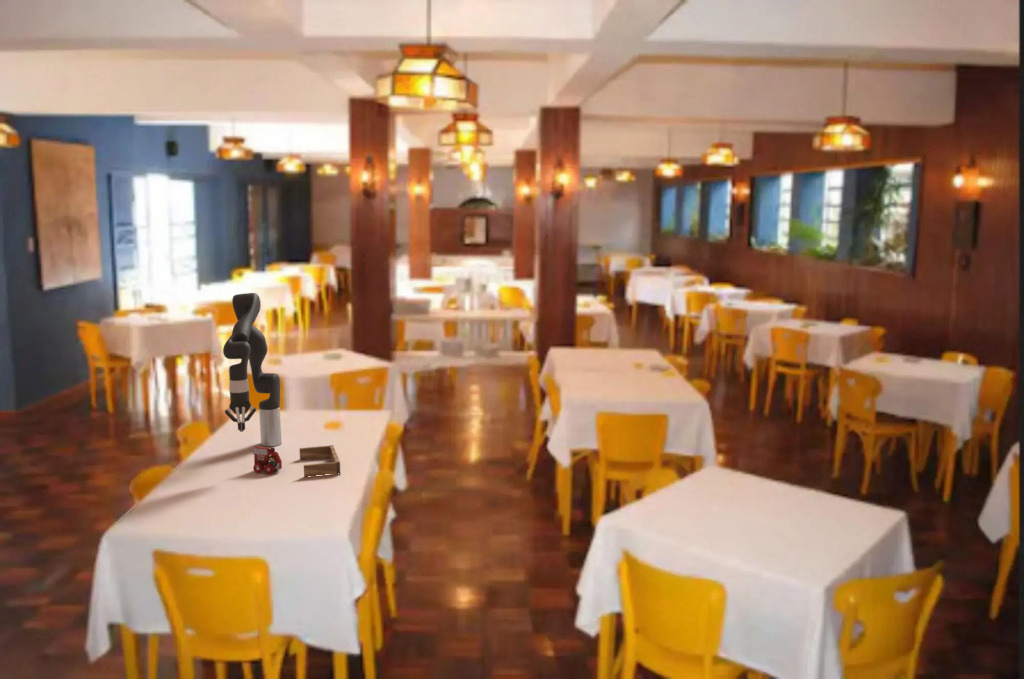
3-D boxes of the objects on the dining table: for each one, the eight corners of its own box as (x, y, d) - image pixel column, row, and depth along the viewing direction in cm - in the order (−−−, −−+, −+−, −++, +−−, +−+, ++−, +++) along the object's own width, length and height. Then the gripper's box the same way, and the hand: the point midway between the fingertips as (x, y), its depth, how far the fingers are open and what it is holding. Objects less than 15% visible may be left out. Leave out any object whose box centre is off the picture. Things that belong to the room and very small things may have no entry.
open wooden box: (299, 459, 396) (299, 448, 395) (333, 456, 400) (333, 445, 399) (304, 477, 370) (303, 465, 370) (340, 474, 374) (339, 462, 374)
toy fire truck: (276, 475, 374) (275, 450, 372) (250, 472, 377) (248, 448, 376) (285, 470, 381) (284, 446, 379) (259, 468, 384) (257, 444, 382)
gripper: (255, 387, 376) (258, 427, 379) (222, 389, 372) (224, 430, 375) (256, 390, 369) (258, 432, 372) (222, 393, 365) (224, 434, 368)
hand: (241, 431), depth 373 cm, fingers closed
